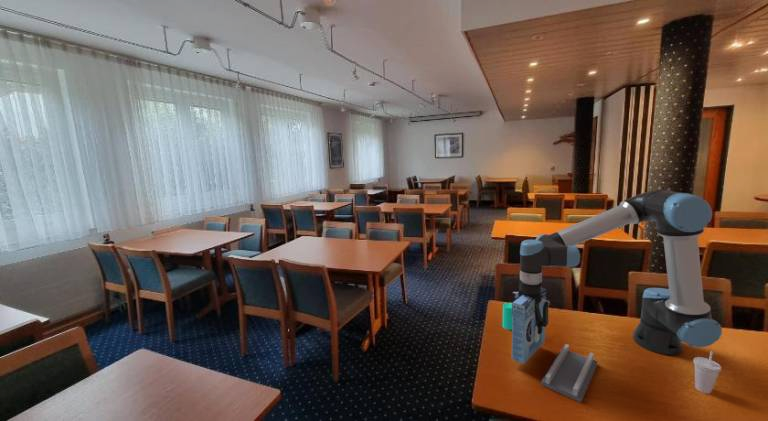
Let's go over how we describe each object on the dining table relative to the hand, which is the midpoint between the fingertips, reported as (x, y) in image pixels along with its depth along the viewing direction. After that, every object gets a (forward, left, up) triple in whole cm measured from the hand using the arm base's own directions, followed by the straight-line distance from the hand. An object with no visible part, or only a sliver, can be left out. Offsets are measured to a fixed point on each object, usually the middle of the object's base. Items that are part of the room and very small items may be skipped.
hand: (528, 337), depth 122 cm
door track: (-15, 0, -8) cm, 17 cm away
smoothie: (-49, -20, -9) cm, 53 cm away
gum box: (0, 0, -6) cm, 6 cm away
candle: (+14, -17, -9) cm, 24 cm away
